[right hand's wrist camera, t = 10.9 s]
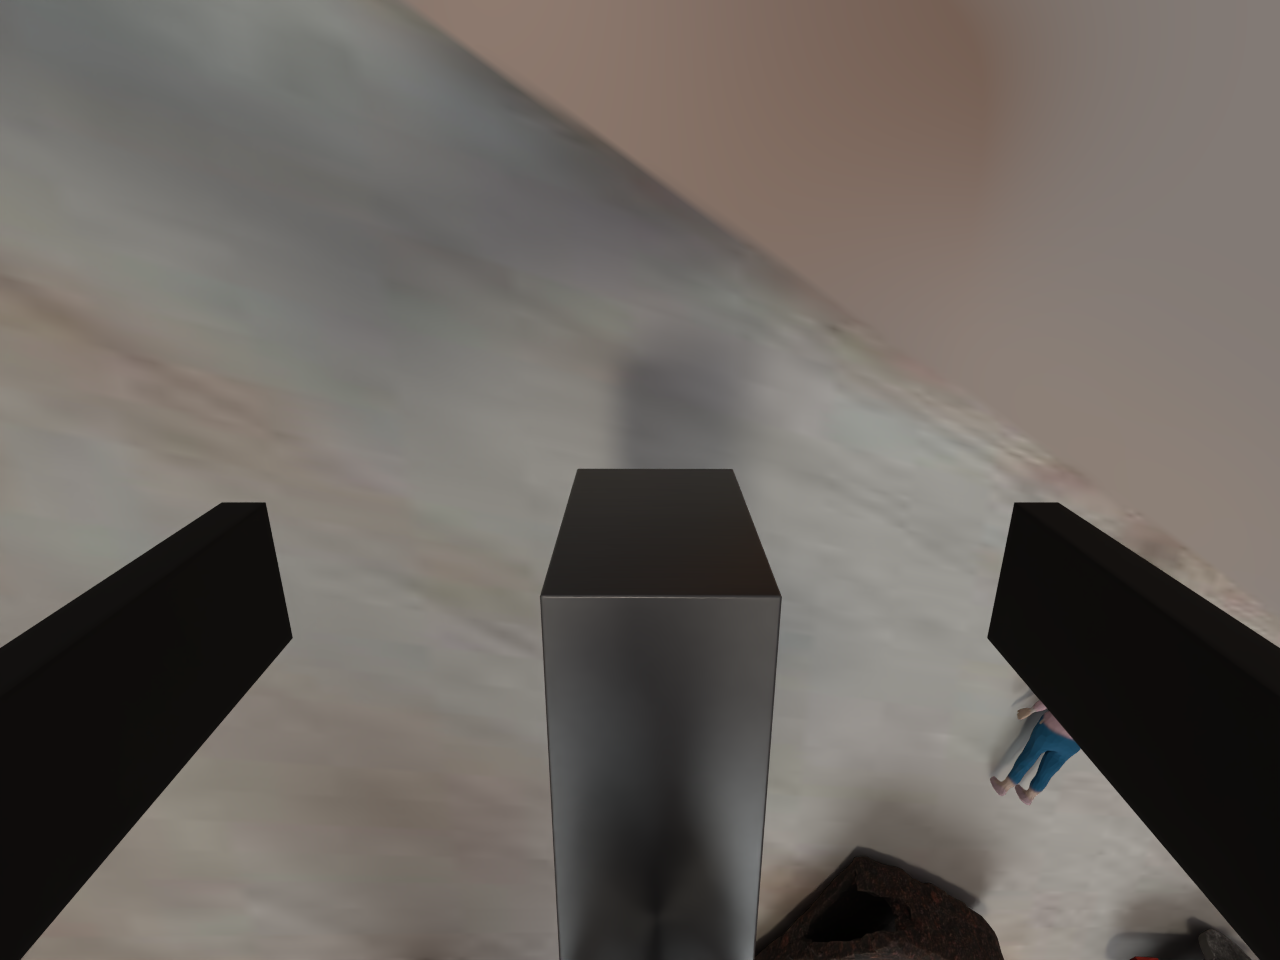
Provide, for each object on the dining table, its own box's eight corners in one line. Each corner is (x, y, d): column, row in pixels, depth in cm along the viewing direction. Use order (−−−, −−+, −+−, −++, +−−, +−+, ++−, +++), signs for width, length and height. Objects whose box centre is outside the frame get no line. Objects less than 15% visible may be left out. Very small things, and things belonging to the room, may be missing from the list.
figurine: (1034, 786, 50) (1169, 626, 44) (1066, 839, 46) (1220, 671, 40) (962, 761, 49) (1090, 596, 44) (989, 813, 45) (1133, 638, 40)
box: (577, 468, 28) (539, 595, 18) (733, 468, 28) (782, 596, 18) (590, 891, 35) (569, 1147, 25) (713, 892, 35) (740, 1148, 25)
